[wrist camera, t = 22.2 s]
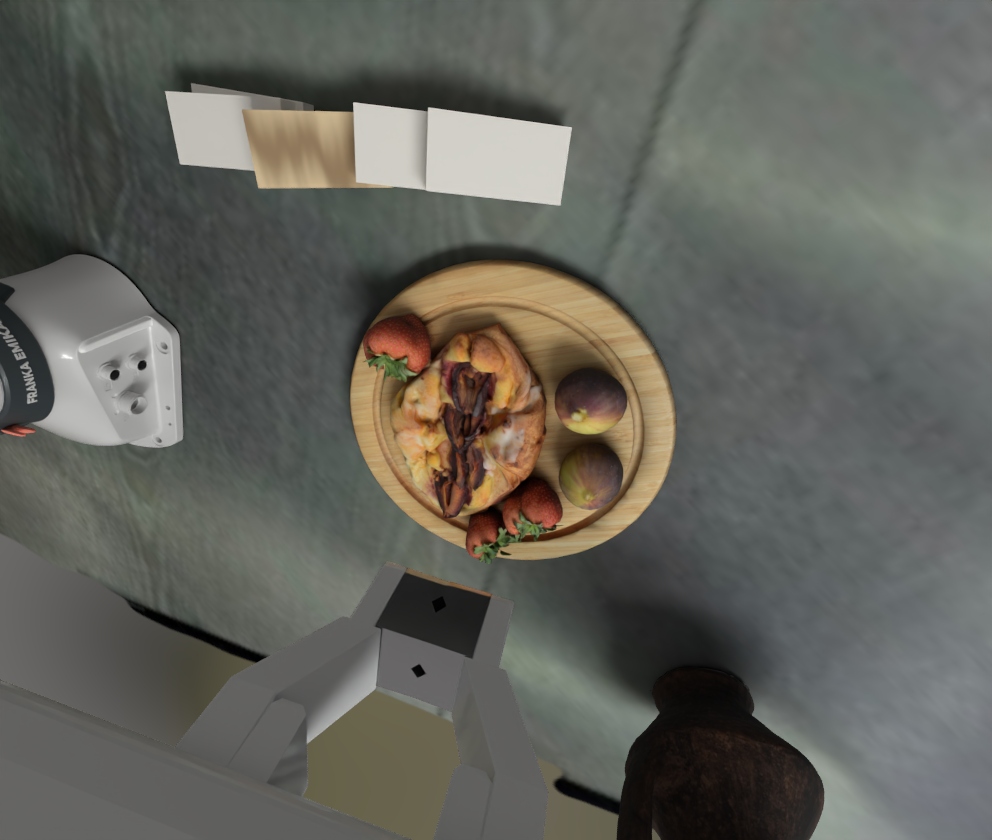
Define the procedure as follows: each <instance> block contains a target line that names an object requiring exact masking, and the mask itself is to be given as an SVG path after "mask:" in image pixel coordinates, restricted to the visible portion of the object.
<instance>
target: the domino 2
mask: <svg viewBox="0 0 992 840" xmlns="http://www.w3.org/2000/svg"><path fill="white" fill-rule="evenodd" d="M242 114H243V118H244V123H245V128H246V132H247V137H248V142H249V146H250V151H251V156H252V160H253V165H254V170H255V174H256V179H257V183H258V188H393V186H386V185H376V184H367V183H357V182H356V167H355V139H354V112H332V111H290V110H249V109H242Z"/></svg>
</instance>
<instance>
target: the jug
mask: <svg viewBox="0 0 992 840" xmlns="http://www.w3.org/2000/svg"><path fill="white" fill-rule="evenodd" d="M744 683H745V682H744ZM650 691H651V690H650ZM652 695H653V697H654V701H655V704H656V707H657V709H658V710H659V712H660V713H659V715H658V716H657V718H656V719H655V720H654V721H653V722H652V723H651V724H650V725H649V727H648V728H647V729H646V730H645V731H644V732H643V733H642V734H641V735H640V736H639V737H638V738H637V739H636V740H635V742H634V743H633V745H632V746H631V748H630V750H629V754H628V757H627V761H626V763H625V776H626V778H625V781H624V785H623V789H622V795H621V802H620V812H619V818H618V827H617V840H652V827H653V828H654V830H655V831H656V833H657V834H658V835H659V837H660V838H661V840H809V839H810V838H811V836H812V834H813V832H814V830H815V828H816V826H817V824H818V822H819V819H820V816H821V813H822V810H823V805H824V788H823V783H822V780H821V778H820V776H819V775H818V773H817V771H816V770H815V768H814V766H813V765H812V764H811V762H810V761H809V760H808V759H807V758H806V757H805V756H804V755H803V754H802V753H801V752H800V751H798V750H797V749H796V748H795V747H793V746H792V745H790V744H789V743H788V742H786V741H785V740H783V739H782V738H780V737H779V736H777V735H776V734H774V733H773V732H772V731H771V730H769V729H768V728H767V727H766V726H765V725H763V724H762V723H761V722H760V721H758V720H757V719H756V718H755V717H753V716H752V713H753V711H754V703H753V700H752V697H751V695H750V693H749V689H748V687H747V686H746V685H744V684H742V683H741V682H740V681H739V680H738V679H736V678H735V677H733V676H732V675H727V674H726V673H724V672H722V671H717V670H714V669H707V668H695V667H689V668H678V669H675V670H672V671H669V672H667V673H666V674H665V675H664V676H662V677H660V678H659V679H658V680H657V682H656V684H655V685H654V688H653V692H652Z"/></svg>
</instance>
